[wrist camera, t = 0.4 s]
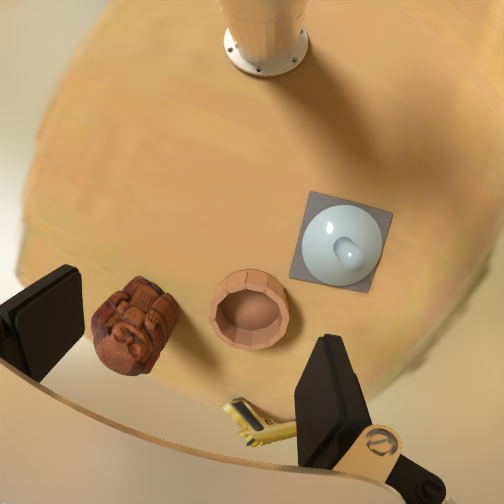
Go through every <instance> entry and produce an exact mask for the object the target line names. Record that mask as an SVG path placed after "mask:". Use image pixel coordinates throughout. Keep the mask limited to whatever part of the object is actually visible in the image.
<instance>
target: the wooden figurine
mask: <svg viewBox="0 0 504 504" xmlns="http://www.w3.org/2000/svg"><path fill="white" fill-rule="evenodd" d="M177 315H178V310H177V305H176V303H175V301H174V299H173V297H172V296H171V295H170V294H169V293H164V292H163V291H162V290H161V289H160V288H159V287H158V286H157V285H156V284H154V283H148V282H147V281H146V280H144V278H142V277H141V276H137V277H135V278H134V279H133V280H131V281H130V282H129V283H128V284H127V285H126V286H125V287H124V288H123V290H122V291H117V292H115V293H114V294H112V295H111V296H110V297H109V298H108V299H107V301H105V302H104V303H103V304H102V305H101V306H100V307H99V308H98V309H97V311H96V312H95V313H94V315H93V316H92V319H91V329H92V334H93V336H94V342H93V343H94V347H95V350H96V353H97V355H98V357H99V359H100V360H101V361H102V362H103V364H104V365H105V366H106V367H108V368H109V369H111V370H113V371H114V372H117V373H119V374H122V375H127V376H137V375H140V374H148V373H150V372H151V370H152V368H153V366H154V364H155V362H156V361H157V360H158V358H159V356H160V352H161V351H162V350H163V348H164V347H165V345H166V343H167V341H168V339H169V337H170V335H171V333H172V331H173V329H174V326H175V324H176V321H177Z"/></svg>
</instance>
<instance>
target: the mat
mask: <svg viewBox="0 0 504 504" xmlns="http://www.w3.org/2000/svg"><path fill="white" fill-rule="evenodd" d="M341 204H346V205H353V206H356V207H359V208H361V209H362V210H364V211H366V212H367V213H368V214H370V215H371V216H372V217H373V219H374V220H375V221H376V223H377V224H378V226H379V229H380V231H381V235H382V249H383V246H384V243H385V239H386V236H387V233H388V229H389V226H390V223H391V219H392V216H393V213H390V212H386V211H383V210H380V209H376V208H373V207H369V206H366V205H362V204H359V203H355V202H351V201H348V200H344V199H340V198H336V197H332V196H328V195H325V194H321V193H316V192H312V191H310V193H309V198H308V202H307V206H306V210H305V214H304V219H303V223H302V227H301V231H300V235H299V239H298V243H297V247H296V250H295V254H294V258H293V262H292V266H291V270H290V273H289V277H290V278H295V279H300V280H305V281H310V282H315V283H320V284H325V285H329V284H326V283H323V282H321V281H320V280H318V279H317V278H315V277H314V276H313V275H312V274H311V273H310V271H309V270H308V268H307V266H306V265H305V262H304V259H303V255H302V238H303V234H304V231H305V229H306V227H307V225H308V224H309V222H310V221H311V220H312V219H313V217H314V216H316V215H317V214H318V213H319V212H321V211H322V210H324V209H326V208H328V207H331V206H334V205H341ZM381 252H382V250H381ZM378 261H379V260H378ZM377 264H378V262H377ZM377 264H376V266H375V267H374V268H373V270H372V271H371V272H370V273H369V274H368V275H367V276H366V277H364V278H363V279H362V280H360V281H358V282H356V283H353V284H350V285H345V286H335V287H340V288H345V289H351V290H356V291H361V292H366V293H367V292H368V289H369V286H370V284H371V281H372V278H373V275H374V273H375V270H376V267H377ZM330 286H333V285H330Z"/></svg>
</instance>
